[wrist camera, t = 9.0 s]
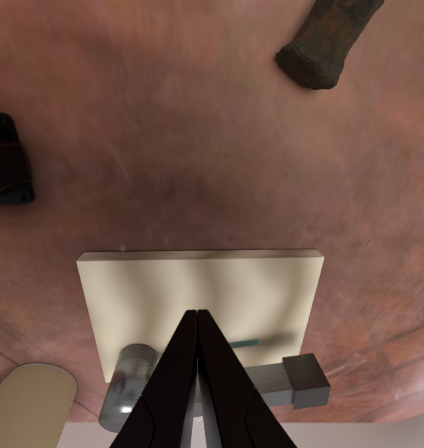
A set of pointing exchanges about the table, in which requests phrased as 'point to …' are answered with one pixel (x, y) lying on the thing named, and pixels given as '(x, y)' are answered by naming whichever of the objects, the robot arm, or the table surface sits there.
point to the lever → (146, 362)
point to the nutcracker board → (201, 299)
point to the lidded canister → (35, 405)
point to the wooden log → (326, 41)
